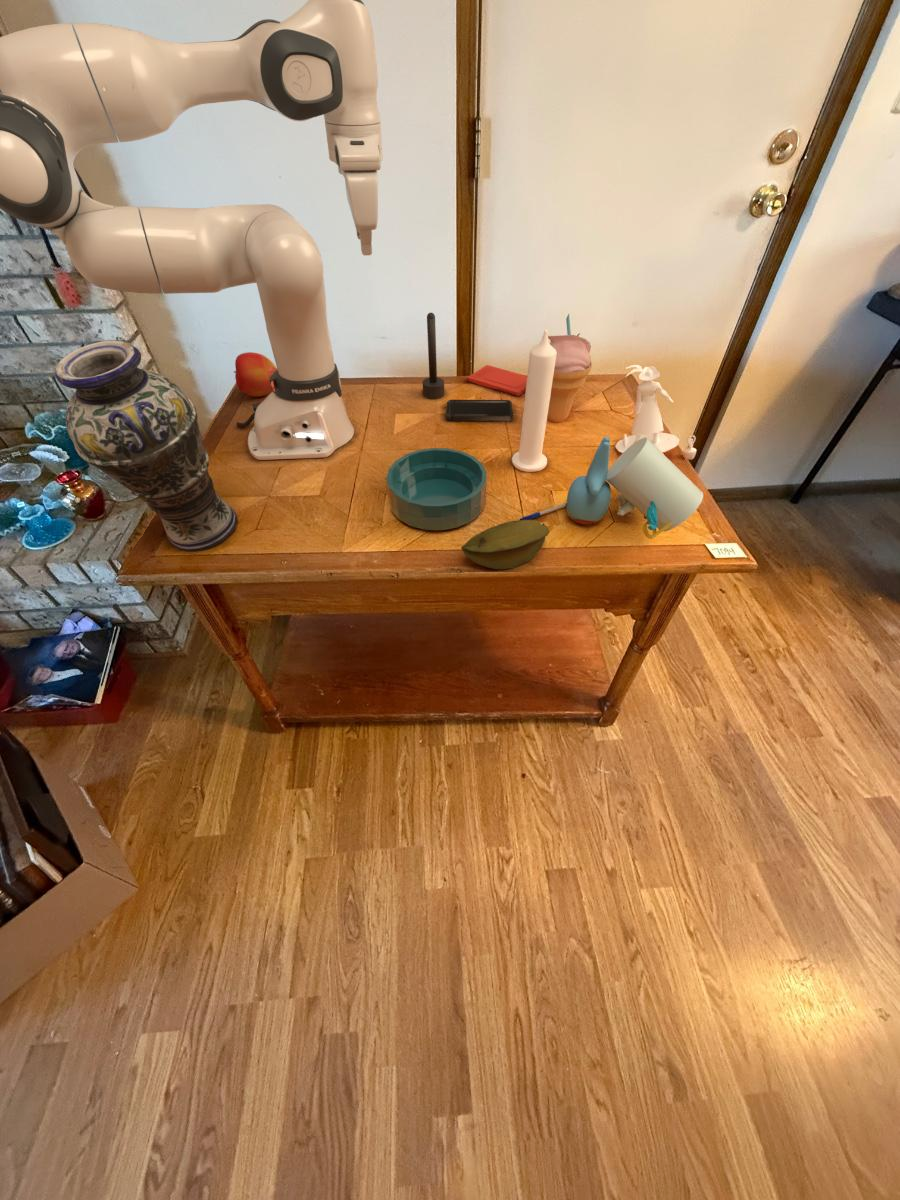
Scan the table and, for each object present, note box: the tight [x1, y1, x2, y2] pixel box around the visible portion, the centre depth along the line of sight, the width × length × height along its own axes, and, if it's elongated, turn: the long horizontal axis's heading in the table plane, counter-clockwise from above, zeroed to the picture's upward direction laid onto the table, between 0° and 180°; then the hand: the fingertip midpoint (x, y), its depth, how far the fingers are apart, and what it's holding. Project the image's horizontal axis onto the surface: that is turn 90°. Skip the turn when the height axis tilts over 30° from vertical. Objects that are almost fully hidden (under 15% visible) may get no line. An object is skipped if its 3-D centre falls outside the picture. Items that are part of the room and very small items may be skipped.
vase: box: [54, 340, 238, 552], centre depth 74 cm, size 17×17×30 cm
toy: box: [566, 436, 612, 525], centre depth 83 cm, size 10×7×15 cm
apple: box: [233, 351, 277, 398], centre depth 117 cm, size 10×10×10 cm
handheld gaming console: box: [467, 364, 527, 397], centre depth 123 cm, size 9×1×15 cm
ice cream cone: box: [547, 313, 593, 423], centre depth 104 cm, size 11×11×20 cm
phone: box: [445, 399, 514, 422], centre depth 113 cm, size 8×1×15 cm
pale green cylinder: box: [606, 438, 704, 540], centre depth 83 cm, size 20×12×13 cm
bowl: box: [385, 447, 488, 531], centre depth 89 cm, size 18×18×6 cm
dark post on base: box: [422, 312, 445, 400], centre depth 113 cm, size 5×5×18 cm
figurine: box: [614, 364, 698, 461], centre depth 96 cm, size 16×12×20 cm
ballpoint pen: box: [519, 502, 567, 520], centre depth 88 cm, size 10×1×1 cm, turn 116°
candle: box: [511, 329, 557, 473], centre depth 91 cm, size 7×7×25 cm
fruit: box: [460, 519, 551, 570], centre depth 79 cm, size 11×12×7 cm
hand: (364, 246), depth 92 cm, fingers open, 8 cm apart
